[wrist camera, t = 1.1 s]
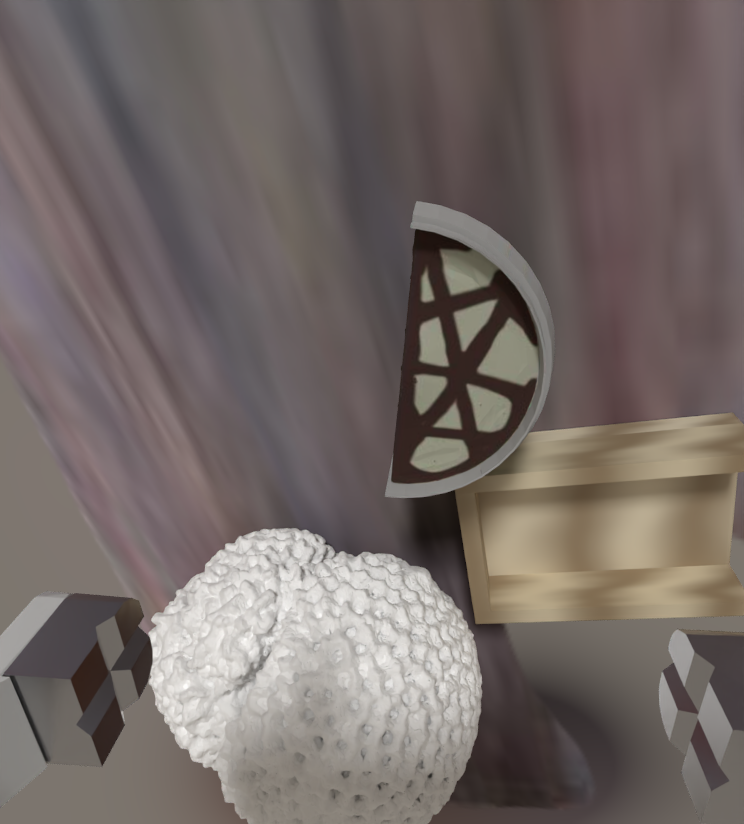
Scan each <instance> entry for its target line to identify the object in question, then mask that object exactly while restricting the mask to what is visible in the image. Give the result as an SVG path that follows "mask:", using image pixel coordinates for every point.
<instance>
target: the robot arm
mask: <svg viewBox="0 0 744 824" xmlns="http://www.w3.org/2000/svg"><path fill="white" fill-rule="evenodd" d="M143 617H144V615H143V611H142V608H141V605H140V602H139V600H136V599H133V598H125V597H114V596H101V595H90V594H78V593H75V594H71V593H70V594H69V593H59V592H48V591H46V592H44V593H42V594H40V595H38V596H36V597H35V598H34V599H33V600H32V601H31V602H30V603H29V605H28V606H27V607H26V608H25V609H24V610H23V611H22V612H21V613H20V615H19V616H18V617H17V618H16V619H15V620H14V621H13V623H11V625H10V626H9V627H8V628H7V629H6V630H5V631H4V633H3V634H2V635H1V636H0V808H1V807H2V806H3V805H4V804H5V803H7V802H8V800H10V799H11V798H12V797H13V796H15V795H16V794H17V793H18V792H19V791H20V790H22V789H23V788H24V787H25V786H26V785H27V784H28V783H30V782H31V781H32V780H33V779H34V778H35V777H37V776H38V775H39V774H40V773H41V772H42V771H44V770H45V769H46V768H47V763H48V764H64V765H65V764H66V765H80V766H81V765H82V766H96V767H102V766H103V764H104V762H105V761H106V759H107V757H108V755H109V753H110V751H111V749H112V748H113V746H114V744H115V742H116V740H117V739H118V737H119V735H120V733H121V731H122V730H123V728H124V726H125V723H124V717H123V711H124V710H125V709H126V708H128V707H129V706H130V705H132V704H133V703H134V702H135V701H137V700H138V699H139V698H140V696H141V694H142V692H143V690H144V689H145V687H146V685H147V682H148V679H149V675H150V671H151V667H152V663H153V649H152V645H151V641H150V637H149V636H148V635H147V634H146V633H145V632H144V631H143V630H141V629H140V628H139V627H138V625H139V624H140V622H141V621H142V619H143ZM668 650H669V652H670V655H671V657H672V659H673V662H674V663H673V664H671V665H670V666H669V667H667V668H666V669H664V670H663V671H662V675H661V680H660V685H659V702H660V711H661V716H662V720H663V724H664V727H665V730H666V733H667V736H668V738H669V741H670V742H671V743H672V744H673V745H674V746H676V748H677V749H679V750H680V751H681V752H682V753H683V754H684V755H685V756H686V757H685V761H684V764H683V768H682V771H681V773H682V776H683V779H684V781H685V784H686V786H687V789H688V792H689V795H690V797H691V800H692V802H693V805H694V808H695V810H696V813H697V816H698V818H699V821H700V823H702V824H744V632H725V631H704V630H702V631H701V630H684V629H677V630H676V631H675V632H674V633H673V635H672V636H671V640H670V643H669V647H668Z"/></svg>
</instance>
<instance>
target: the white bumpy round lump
mask: <svg viewBox="0 0 744 824" xmlns="http://www.w3.org/2000/svg"><path fill="white" fill-rule="evenodd" d="M325 542H326V541H325V540H324V538H322V536H319V535H318V534H315V535H314V534H313V533H310V532H309V531H308V530H302V531H300V530H298V529H297V528H292V529H289V528H284V529H281V528H280V529H275V528H274V529H272V530H269V529H262V530H260V531H254V532H252V533H249V534H247V535H244V536H243V537H242V536H239V537H238V538H237V540H236V541H235V543H233V544H230V543H227V544H225V549H224V550H219V551H218V552H217V554H216V555H215V556H213V557H212V558H211V561H209V562H208V563H206V564H205V572H203V573H200V574H197V575H196V576H195V577H193V578H191V580H190V581H189V582H188V583H187V585H186V586H185V587H184V588H183V589H179V590H177V591H176V595H177V597H176V598H175V599H174V601H171V602H169V606H167V607H166V608H165V611H164V612H163V613H161V612H159V613H156V614H155V615H154V616H153V617H152V619H151V621H152V622H153V623H154V624H156V625H157V626H156V627H155V628H153V629H152V630H151V631H150V632H149V636H150V639H151V640H150V641H151V645H152V649H153V663H152V667H151V671H150V675H151V679H150V680H149V685H152V689H153V691H154V692H155V697H156V703H155V705H156V706H158V710H159V712H160V713H162V714H163V715H164V716H165V718H164V720H165V722H166V723H167V724H169V726H170V730H171V732H172V733H175V740H176V742H177V743H178V744H179V745H180V748H183V749H188V750H189V752H190V756H191V759H192V761H195V762H200V763H203V767H205V768H207V767H212V768H213V770H214V771H215V770H216V771H218V776H219V777H220V780H221V781H222V783H221V784H222V792H223V795H224V797H225V798H224V800H225V802H227V803H228V802H230V803H234V804H235V812H236V813H237V814H238V815H239V816H240V818H241V819H245V818H246V819H247V821H248V823H249V824H428V823H429V822H430V821H431V819H432V816H433V814H435V815H436V814H437V813H439V812H440V810H441V809H442V807H443V805H445V804H446V802H447V801H449V800H450V795H451V794H452V792H454V789H455V785H456V783H457V781H458V780H459V779H460V777H461V776H462V775H463V774H464V772H465V769H466V763H467V762H468V759H470V757H471V752H472V748H473V746H474V741H475V740H476V737H477V735H478V721H479V716H480V714H481V708H480V707H481V698H482V689H481V684H482V676H481V674H480V666H479V663H478V658H477V657H478V655H477V651H476V650H477V649H476V644H475V641H474V640H473V636H474V635H473V633H472V632H471V630H468V625H467V621H465V620H464V619H463V613H462V611H461V610H460V609H458V608H457V607H456V606H455V604H454V602H453V600H452V598H451V597H450V596H448V595H447V594H445V593H444V592H443V591H441V590H440V589H439V587H438V585H437V583H436V582H435V581H433V579H432V577H431V575H430V572H429V571H428V570H427V569H426V568H423V567H419V566H410V565H409V564H408V563H407V562H406V561H405V560H402V559H400V558H396V557H395V556H394V555H392V554H381V553H380V554H378V553H377V554H372V553H370V552H362V554H359V555H358V556H357V557H354V556H353V555H352V554H347V553H346V552H344V551H341V552H340V553H335V550H333V547H331V546H330V545H326V544H325Z"/></svg>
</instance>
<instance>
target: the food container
mask: <svg viewBox="0 0 744 824" xmlns="http://www.w3.org/2000/svg"><path fill="white" fill-rule="evenodd" d="M410 228H414V229H416V231H415V238H414V245H413V262H412V274H411V277H410V279H411V283H410V292H409V302H408V313H407V324H406V329H405V344H404V353H403V363H402V366H401V371H402V372H401V383H400V394H399V404H398V413H397V421H396V431H395V441H394V451H393V457H392V462H391V467H390V472H389V477H388V482H387V488H386V493H385V497H395V498H415V497H427V496H432V495H437V494H442V493H446V492H449V491H452V490H455V489H458V488H461V487H464V486H466V485H468V484H470V483H472V482H474V481H476V480H478V479H480V478H482V477H483V476H485V475H486V474H488V473H489V472H491V471H492V470H493V469H495V468H496V467H498V466H499V465H500V464H501V463H502V462H503V461H504V460H505V459H506V458H507V457H508V456H509V455H510V454H512V453H513V452H514V451H515V449H517V448H518V447H519V445H520V444H521V443H522V441H523V440H524V439H525V438H526V436H527V435H528V434H529V432H530V431H531V430H532V428H533V426H534V424H535V422H536V420H537V418H538V417H539V415H540V413H541V411H542V408H543V405H544V402H545V399H546V396H547V393H548V390H549V386H550V382H551V377H552V372H553V365H554V357H555V334H554V325H553V321H552V316H551V311H550V307H549V304H548V301H547V299H546V297H545V294H544V292H543V289H542V287H541V284H540V282H539V281H538V279H537V278H536V276H535V274H534V273H533V271H532V270H531V268H530V267H529V265H528V263H527V262H526V261H525V260H524V259H523V257H522V256H521V255H520V254H519V253H518V252H517V251H516V250H515V249H514V247H513V246H512V245H511V244H510V243H509V242H508V241H506V240H505V239H504V238H502V237H501V236H500V235H499V234H497V233H496V232H495V231H494V230H492V229H491V228H490V227H488V226H487V225H485V224H483V223H481V222H479V221H477V220H476V219H474V218H472V217H470V216H468V215H466V214H464V213H461V212H458V211H455V210H452V209H449V208H447V207H444V206H441V205H436V204H430V203H424V202H419V201H416V205H415V209H414V212H413V218H412V223H411V227H410Z"/></svg>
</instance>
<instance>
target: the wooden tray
mask: <svg viewBox="0 0 744 824" xmlns="http://www.w3.org/2000/svg"><path fill="white" fill-rule="evenodd" d="M738 472H744V425H743V424H742V422H741V421H740V420H739V419H738V418H737V417H736V416H735V415H734V414H733V413H724V414H714V415H703V416H693V417H683V418H673V419H663V420H652V421H642V422H632V423H622V424H611V425H601V426H591V427H581V428H571V429H560V430H550V431H540V432H530V433H529V434H528V435H527V436H526V438H525V439H524V440H523V441H522V443H521V444H520V445H519V447H518V448H517V449H515V451H514V452H513V453H512V454H510V455H509V456H508V457H507V458H506V459H505V460H504V461H503V462H502V463H501V464H500V465H499V466H498V467H496V468H495V469H493V470H492V471H491V472H489V473H488V474H486V475H485V476H483V477H482V478H480V479H478V480H476V481H474V482H472V483H470V484H468V485H466V486H464V487H461V488H458V489H455V495H456V501H457V508H458V514H459V521H460V527H461V533H462V540H463V546H464V552H465V559H466V565H467V572H468V578H469V584H470V591H471V597H472V604H473V610H474V616H475V623H476V624H490V623H521V622H522V623H523V622H555V621H587V620H621V619H651V618H652V619H653V618H683V617H684V618H685V617H717V616H744V588H743V587H742V585H741V583H740V582H739V580H738V578H737V577H736V575H735V573H734V572H733V570H732V568H731V566H730V565H729V563H730V552H731V540H732V529H733V518H734V507H735V496H736V485H737V474H738Z"/></svg>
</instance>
